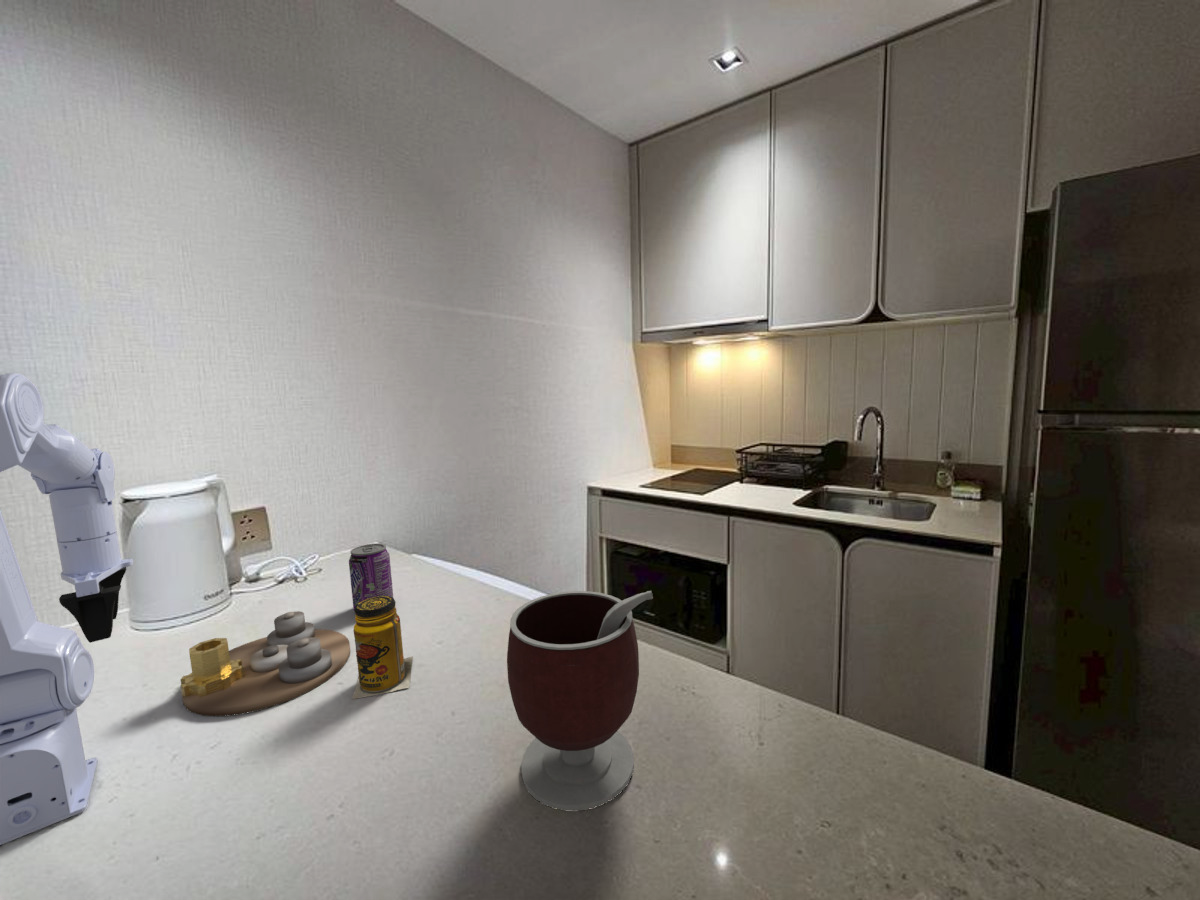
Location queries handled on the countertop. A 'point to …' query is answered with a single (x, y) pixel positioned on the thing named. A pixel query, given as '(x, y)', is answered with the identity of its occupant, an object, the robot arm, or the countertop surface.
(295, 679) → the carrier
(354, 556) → the beverage can
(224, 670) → the brass gear
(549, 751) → the mate gourd
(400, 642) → the condiment
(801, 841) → the countertop surface
